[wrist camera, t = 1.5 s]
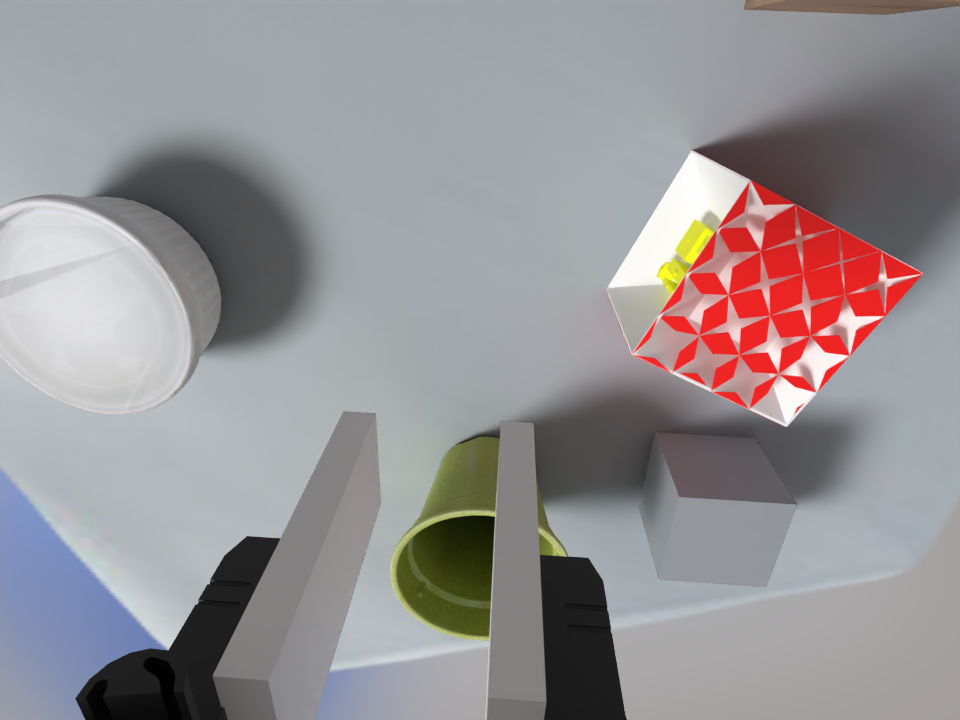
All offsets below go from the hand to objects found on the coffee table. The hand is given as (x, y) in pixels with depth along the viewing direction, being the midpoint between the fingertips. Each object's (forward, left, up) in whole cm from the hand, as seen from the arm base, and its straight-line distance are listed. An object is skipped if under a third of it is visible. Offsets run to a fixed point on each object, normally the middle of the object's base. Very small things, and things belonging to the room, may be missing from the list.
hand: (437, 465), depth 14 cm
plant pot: (+15, +1, -19) cm, 24 cm away
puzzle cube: (0, +12, -19) cm, 22 cm away
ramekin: (+3, -19, -19) cm, 27 cm away
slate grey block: (+14, +14, -19) cm, 27 cm away
